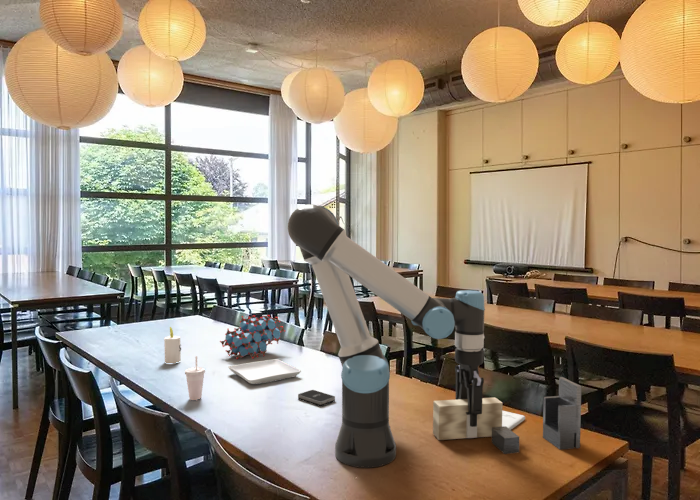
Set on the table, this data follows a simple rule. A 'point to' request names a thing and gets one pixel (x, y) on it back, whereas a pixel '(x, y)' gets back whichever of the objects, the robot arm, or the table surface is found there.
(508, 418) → the external hard drive
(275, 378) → the salad plate
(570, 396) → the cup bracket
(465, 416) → the rail
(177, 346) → the candle
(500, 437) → the block
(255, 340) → the molecule model
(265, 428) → the table surface
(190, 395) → the smoothie
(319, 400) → the external hard drive
